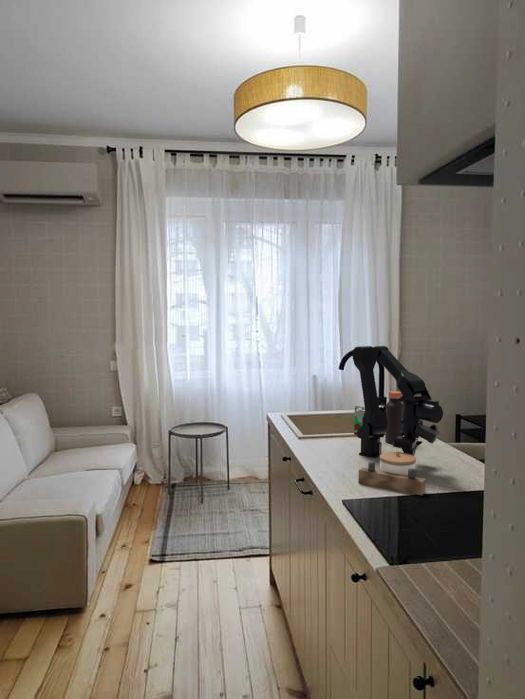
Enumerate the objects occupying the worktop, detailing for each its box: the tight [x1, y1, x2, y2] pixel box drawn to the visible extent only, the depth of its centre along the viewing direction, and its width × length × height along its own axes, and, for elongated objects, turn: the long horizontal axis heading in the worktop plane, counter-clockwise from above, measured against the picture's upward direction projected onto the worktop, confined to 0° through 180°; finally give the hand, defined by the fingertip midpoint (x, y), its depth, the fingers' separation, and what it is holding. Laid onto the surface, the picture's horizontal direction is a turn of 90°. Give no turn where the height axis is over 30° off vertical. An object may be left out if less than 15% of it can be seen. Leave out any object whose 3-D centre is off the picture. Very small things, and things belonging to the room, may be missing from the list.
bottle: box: [384, 390, 403, 445], centre depth 198 cm, size 7×7×20 cm
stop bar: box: [357, 461, 426, 496], centre depth 148 cm, size 19×3×6 cm, turn 58°
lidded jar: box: [379, 450, 417, 476], centre depth 153 cm, size 11×11×9 cm
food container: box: [353, 405, 365, 435], centre depth 215 cm, size 12×6×10 cm, turn 168°
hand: (410, 463), depth 165 cm, fingers closed
